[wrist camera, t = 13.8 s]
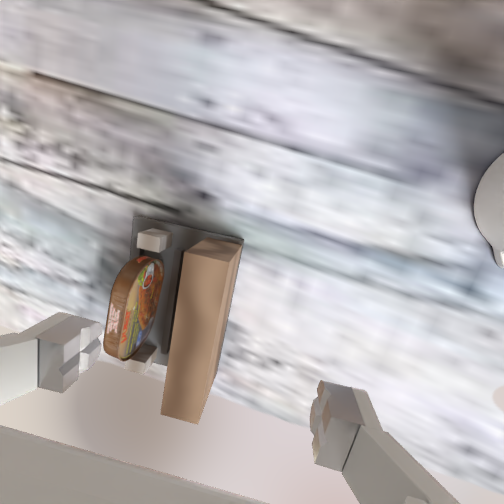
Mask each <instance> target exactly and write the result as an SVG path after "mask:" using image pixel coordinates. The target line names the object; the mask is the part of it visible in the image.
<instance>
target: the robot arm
mask: <svg viewBox="0 0 504 504" xmlns="http://www.w3.org/2000/svg"><path fill="white" fill-rule="evenodd" d="M474 215H475V220H476V223H477V226H478V228H479V230H480V232H481V233H482V235H483V236H484V237H485V238H486V240H487V241H488V242H489V243H490V244H491V246H492V247H493V251H494V256H495V260H496V262H497V264H498V266H499V267H500V268H503V269H504V153H503V154H502V155H500V156H499V157H498V158H497V159H496V160H495V161H494V162H493V163H492V164H491V166H490V167H489V168H488V169H487V171H486V172H485V174H484V175H483V177H482V179H481V181H480V183H479V185H478V188H477V191H476V195H475V200H474ZM101 334H102V324H101V323H100V322H96V321H93V320H89V319H86V318H82V317H79V316H74V315H71V314H68V313H64V312H58V313H56V314H54V315H53V316H51V317H49V318H47V319H45V320H43V321H41V322H40V323H38V324H36V325H34V326H32V327H30V328H28V329H27V330H25V331H23V332H21V333H19V334H18V333H11V334H6V335H1V336H0V405H2V404H5V403H7V402H9V401H11V400H13V399H16V398H18V397H20V396H22V395H25V394H27V393H29V392H31V391H33V390H36V389H37V388H38V387H39V388H43V389H48V390H51V391H55V392H59V393H63V392H64V391H66V390H67V389H68V388H69V387H70V386H71V385H72V384H73V383H74V382H75V381H77V380H78V377H79V373H81V372H84V371H87V370H88V369H89V368H91V367H92V366H93V365H94V363H95V362H96V360H97V358H98V357H99V354H100V351H101V343H100V341H99V339H98V337H99V336H100V335H101ZM317 393H318V397H317V398H316V399H314V400H313V404H312V407H311V413H310V429H311V432H312V433H313V434H314V439H313V442H312V446H313V455H314V462H315V464H317V465H321V466H324V467H327V468H330V469H333V470H337V471H340V472H342V475H343V476H344V478H345V480H346V482H347V483H348V485H349V486H350V488H351V490H352V491H353V493H354V495H355V496H356V498H357V500H358V501H359V503H360V504H460V503H459V502H458V501H457V500H456V499H455V498H454V497H453V496H452V495H451V494H450V493H449V492H448V491H447V490H446V489H445V488H444V487H443V486H442V485H441V484H440V483H439V482H438V481H437V480H436V479H435V478H434V477H432V475H431V474H430V473H429V472H428V471H427V470H426V469H425V468H424V467H423V466H422V465H421V464H419V463H418V462H417V461H416V460H415V459H414V458H413V457H412V456H411V455H410V454H409V453H408V452H407V451H406V450H405V449H404V448H403V447H402V446H401V445H400V444H399V443H398V442H397V441H396V440H395V439H394V438H393V437H392V436H391V435H390V434H389V433H388V432H384V431H383V429H382V427H381V425H380V422H379V420H378V417H377V415H376V413H375V410H374V408H373V406H372V403H371V401H370V399H369V396H368V394H367V392H366V391H365V390H362V389H357V388H353V387H347V386H343V385H339V384H335V383H331V382H327V381H323V380H321V381H320V383H319V385H318V388H317ZM0 504H269V503H265V502H262V501H259V500H255V499H252V498H248V497H245V496H242V495H238V494H235V493H231V492H228V491H225V490H221V489H218V488H214V487H211V486H208V485H204V484H201V483H197V482H194V481H191V480H187V479H184V478H180V477H177V476H173V475H170V474H166V473H163V472H160V471H156V470H153V469H149V468H146V467H142V466H139V465H136V464H132V463H129V462H125V461H122V460H118V459H115V458H111V457H108V456H105V455H101V454H97V453H94V452H91V451H87V450H84V449H80V448H77V447H74V446H70V445H66V444H63V443H59V442H57V441H53V440H49V439H46V438H43V437H39V436H36V435H33V434H29V433H26V432H22V431H18V430H15V429H12V428H8V427H5V426H1V425H0Z"/></svg>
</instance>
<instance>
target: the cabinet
mask: <svg viewBox="0 0 504 504" xmlns="http://www.w3.org/2000/svg"><path fill="white" fill-rule="evenodd" d="M243 243H244V240H243V239H239V238H234V237H230V236H226V235H221V234H217V233H213V232H208V231H204V230H199V229H195V228H191V227H186V226H182V225H178V224H173V223H169V222H165V221H160V220H156V219H151V218H147V217H143V216H135V217H134V219H133V230H132V241H131V251H130V260H132V259H134V258H136V257H138V256H142V255H144V256H148V257H151V258H154V259H159V260H161V261H162V262H163V265H164V279H163V283H162V288H161V293H160V297H159V302H158V306H157V311H156V315H155V320H154V323H153V326H152V329H151V331H150V333H149V335H148V337H147V339H146V340H145V342H144V344H143V345H142V347H141V348H140V349H139V351H138V352H137V353H136V354H135V355H134V356H133V357H132V358H131V359H129V360H127V361H125V370H128V371H132V372H136V373H139V374H143V375H144V374H145V372H146V371H147V370H148V368H149V367H150V366H151V364H152V363H157V364H161V365H165V366H167V373H166V380H165V387H164V394H163V401H162V408H161V415H165V416H169V417H172V418H176V419H180V420H183V421H187V422H190V423H194V424H198V423H199V420H200V417H201V414H202V412H203V409H204V406H205V403H206V401H207V398H208V395H209V392H210V389H211V387H212V384H213V381H214V379H215V377H216V374H217V370H218V365H219V360H220V355H221V350H222V346H223V341H224V336H225V331H226V326H227V321H228V316H229V311H230V307H231V302H232V297H233V292H234V287H235V282H236V277H237V272H238V268H239V263H240V258H241V253H242V248H243Z"/></svg>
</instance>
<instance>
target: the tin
mask: <svg viewBox="0 0 504 504" xmlns="http://www.w3.org/2000/svg"><path fill="white" fill-rule="evenodd" d="M163 279H164V265H163V262H162V261H161V260H159V259H154V258H151V257H148V256H144V255H142V256H138V257H136V258H134V259H132V260H130V261H129V262H128V263H127V264H126V265H125V266H124V267H123V268H122V269H121V271H120V272H119V274H118V276H117V278H116V280H115V282H114V285H113V288H112V291H111V297H110V303H109V309H108V315H107V321H106V328H105V334H104V341H103V347H104V350H105V352H106V353H107V354H109V355H111V356H113V357H115V358H118V359H119V360H121V361H127V360H129V359H131V358H132V357H133V356H134V355H135V354H136V353H137V352H138V351H139V349H140V348H141V347H142V345H143V344H144V342H145V340H146V339H147V337H148V335H149V333H150V331H151V329H152V326H153V323H154V320H155V315H156V311H157V306H158V302H159V297H160V293H161V288H162V283H163Z"/></svg>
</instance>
